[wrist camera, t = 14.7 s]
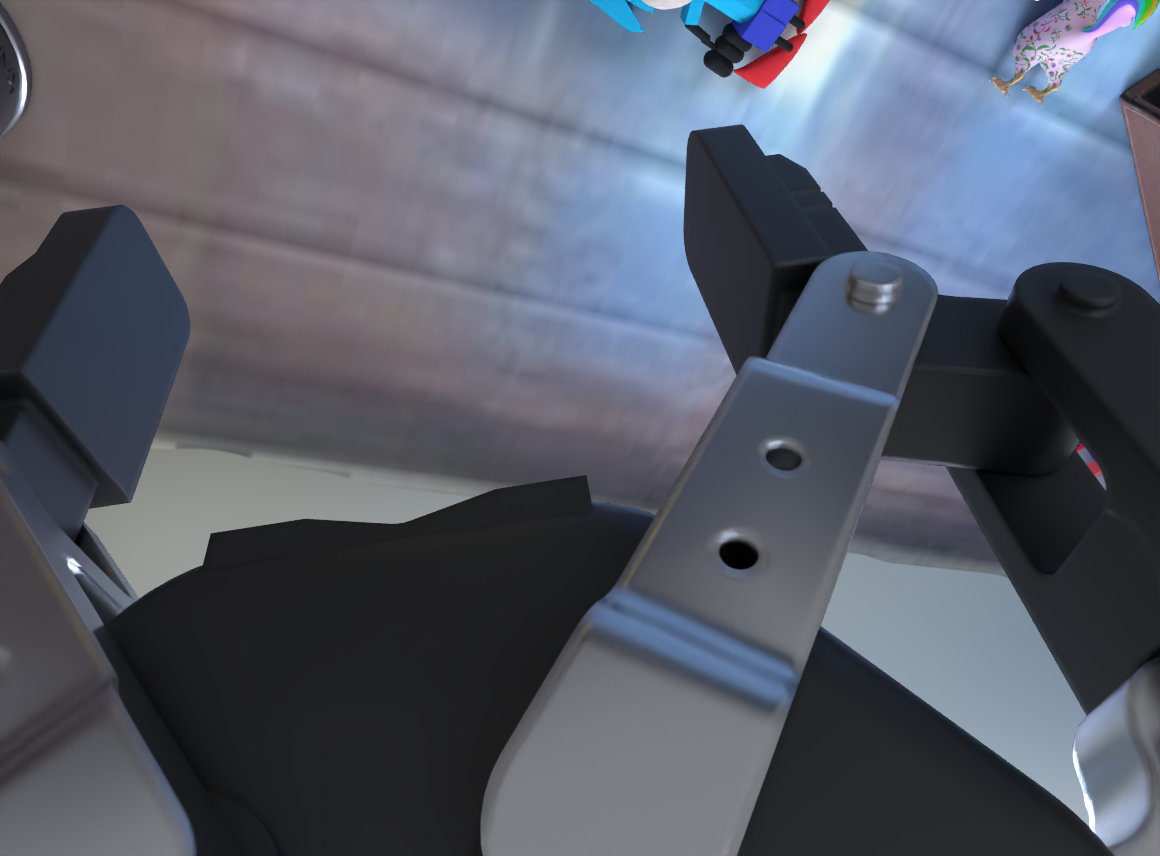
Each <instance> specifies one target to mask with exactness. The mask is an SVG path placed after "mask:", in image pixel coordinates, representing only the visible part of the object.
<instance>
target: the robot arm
mask: <svg viewBox="0 0 1160 856" xmlns="http://www.w3.org/2000/svg"><path fill="white" fill-rule="evenodd" d="M31 89H32V74H31V66H30V62H29V57H28V54H27V51H26V48H25V45H24V43H23V40H22V38H21V36H20V34H19V32H18V30H17V28H16V26H15V24H14V23H13V21H12V19H11V18H10V16H9V14H8V13H7V12H6V10H5V9H4V7H3V6H2V5H1V3H0V137H1V136H3V135H4V134H5V133H6V132H8V131H9V130H10V129H11V128H12V126H13V125H14V124H15V123H16V122H17V121H18V120H19V119H20V117H21V116H22V115H23V113H24V112H25V109H26V107H27V105H28V102H29V99H30V95H31ZM820 189H821V188H820V187H819V185H818V184H817V183H816V181H815V180H814V179H813V177H812V176H811V175H810V173H809V172H808V171H807V169H805V168H804V167H802V166H800V165H798V164H797V163H795V162H793V161H791V160H789V159H788V158H786V157H784V156H782V155H781V154H776V155H769V156H765V155H764V153H763V152H762V150H761V149H760V148H759V146H758V145H757V143H756V142H755V140H754V139H753V137H752V136H751V135H750V133H749V132H748V130H747V129H746V127H745V126H744V125H742V124H741V125H733V126H725V127H718V128H710V129H703V130H695V131H692V132H691V133H690V135H689V138H688V144H687V159H686V183H685V207H684V244H685V252H686V257H687V261H688V265H689V268H690V270H691V272H692V275H693V277H694V279H695V281H696V284H697V286H698V288H699V291H700V293H701V295H702V297H703V300H704V302H705V304H706V307H707V309H708V311H709V313H710V316H711V318H712V320H713V322H714V325H715V327H716V329H717V332H718V334H719V336H720V338H721V341H722V343H723V345H724V348H725V350H726V352H727V354H728V357H729V359H730V361H731V363H732V366H733V368H734V370H735V373H736V375H737V376H736V378H735V380H734V381H733V383H732V385H731V387H730V388H729V390H728V392H727V394H726V395H725V397H724V399H723V400H722V402H721V404H720V406H719V407H718V409H717V411H716V412H715V414H714V416H713V418H712V419H711V421H710V423H709V425H708V426H707V428H706V430H705V431H704V433H703V435H702V437H701V438H700V440H699V442H698V443H697V445H696V447H695V449H694V450H693V452H692V454H691V456H690V457H689V459H688V461H687V462H686V464H685V466H684V468H683V469H682V471H681V473H680V474H679V476H678V478H677V480H676V481H675V483H674V485H673V487H672V488H671V490H670V492H669V493H668V495H667V497H666V499H665V500H664V502H663V504H662V505H661V507H660V509H659V511H658V512H657V514H656V515H655V514H652V513H650V512H646V511H643V510H639V509H636V508H632V507H628V506H622V505H617V504H611V503H601V502H591V497H590V492H589V487H588V482H587V477H586V475H584V476H577V477H571V478H565V479H558V480H552V481H545V482H539V483H532V484H526V485H520V486H513V487H507V488H500V489H495V490H492V491H490V492H487V493H484V494H481V495H479V496H476V497H473V498H471V499H468V500H465V501H463V502H460V503H457V504H454V505H452V506H449V507H446V508H444V509H441V510H438V511H436V512H433V513H430V514H427V515H425V516H422V517H419V518H417V519H414V520H411V521H408V522H405V523H399V524H382V523H366V522H349V521H331V520H314V519H302V520H295V521H288V522H282V523H275V524H269V525H262V526H256V527H250V528H243V529H237V530H231V531H224V532H217V533H211V535H210V539H209V543H208V547H207V551H206V555H205V559H204V563H203V565H202V566H199V567H197V568H194V569H192V570H190V571H188V572H186V573H183V574H181V575H179V576H177V577H175V578H173V579H171V580H169V581H167V582H165V583H164V584H162V585H160V586H159V587H157V588H155V589H153V590H152V591H150V592H148V593H147V594H145V595H144V596H143V597H141V598H140V599H139V598H138V596H137V595H136V593H135V592H134V590H133V589H132V587H131V586H130V584H129V583H128V581H127V580H126V578H125V577H124V575H123V574H122V572H121V571H120V569H119V568H118V567H117V565H116V563H115V562H114V560H113V559H112V557H111V556H110V555H109V553H108V552H107V550H106V549H105V547H104V546H103V544H102V543H101V541H100V540H99V538H98V537H97V535H96V534H95V533H94V532H93V531H92V530H91V529H90V528H89V527H88V526H87V525H86V524H85V523H84V519H85V516H86V514H87V512H88V509H91V508H97V507H104V506H110V505H117V504H123V503H130V502H131V500H132V498H133V495H134V492H135V490H136V486H137V484H138V481H139V478H140V475H141V473H142V470H143V467H144V464H145V461H146V458H147V456H148V453H149V450H150V447H151V444H152V441H153V438H154V436H155V433H156V430H157V427H158V424H159V421H160V419H161V416H162V413H163V410H164V407H165V404H166V402H167V399H168V396H169V393H170V390H171V387H172V385H173V382H174V379H175V376H176V373H177V370H178V368H179V365H180V362H181V359H182V356H183V353H184V351H185V348H186V345H187V342H188V339H189V336H190V319H189V313H188V309H187V306H186V303H185V301H184V298H183V296H182V294H181V292H180V291H179V289H178V287H177V285H176V283H175V282H174V280H173V278H172V276H171V275H170V273H169V271H168V269H167V268H166V266H165V264H164V262H163V260H162V259H161V257H160V255H159V253H158V252H157V250H156V248H155V246H154V244H153V243H152V241H151V239H150V237H149V236H148V234H147V232H146V230H145V229H144V227H143V225H142V223H141V222H140V220H139V218H138V217H137V216H136V215H135V213H134V212H133V211H132V210H131V209H129V208H128V207H126V206H124V205H116V206H108V207H101V208H93V209H86V210H78V211H70V212H65V213H63V214H62V215H61V216H60V217H59V219H58V220H57V222H56V223H55V225H54V226H53V228H52V229H51V231H50V232H49V234H48V235H47V237H46V238H45V240H44V241H43V243H42V244H41V246H40V247H39V249H38V250H37V252H36V253H35V254H34V255H32V256H31V257H30V258H29V259H27V260H26V261H25V262H23V263H22V264H21V265H20V266H18V267H17V268H16V269H14V270H13V271H12V272H11V273H9V274H8V275H7V276H6V277H5V278H4V280H3V281H2V283H1V284H0V856H1160V304H1159V303H1158V302H1157V301H1156V300H1155V299H1154V298H1152V297H1151V296H1150V295H1149V294H1148V293H1147V292H1146V291H1145V290H1144V289H1143V288H1141V287H1140V286H1139V285H1137V284H1136V283H1134V282H1133V281H1131V280H1129V279H1127V278H1125V277H1123V276H1121V275H1119V274H1117V273H1114V272H1112V271H1109V270H1106V269H1103V268H1099V267H1096V266H1091V265H1086V264H1079V263H1069V262H1056V263H1047V264H1041V265H1038V266H1034V267H1032V268H1030V269H1028V270H1026V271H1024V272H1023V273H1022V274H1021V275H1020V276H1019V277H1018V279H1017V280H1016V282H1015V285H1014V287H1013V289H1012V291H1011V294H1010V296H1009V298H1008V300H1000V299H985V298H970V297H955V296H945V295H939V294H938V289H937V286H936V283H935V281H934V280H933V278H932V277H931V276H930V275H929V274H928V273H927V272H926V271H925V270H924V269H922V268H921V267H919V266H918V265H916V264H914V263H912V262H910V261H908V260H906V259H903V258H901V257H898V256H894V255H890V254H886V253H880V252H870V251H868V250H867V249H866V247H865V246H864V245H863V243H862V242H861V241H860V239H859V238H858V237H857V235H856V234H855V233H854V231H853V230H852V229H851V227H850V226H849V225H848V223H847V222H846V221H845V220H844V218H843V217H842V216H841V214H840V213H839V212H838V210H837V209H836V208H833V207H832V202H831V201H830V200H829V198H828V197H827V196H826V194H825V193H824V192H821V191H820ZM1080 441H1081V443H1082V444H1083V445H1084V447H1085V448H1086V449H1087V451H1088V452H1089V453H1090V455H1091V456H1092V457H1093V459H1094V460H1095V461H1096V463H1097V464H1098V466H1099V467H1100V469H1101V472H1102V474H1103V477H1104V480H1105V485H1106V490H1105V489H1104V487H1103V486H1102V485H1101V483H1100V482H1099V481H1098V479H1097V478H1096V477H1095V475H1094V474H1093V473H1092V471H1091V470H1090V469H1089V467H1088V466H1087V464H1086V463H1085V462H1084V460H1083V459H1082V458H1081V456H1080V455H1079V454H1078V452H1077V451H1076V450H1075V448H1076V446H1077V445H1078V443H1079V442H1080ZM880 459H881V460H890V461H900V462H909V463H919V464H928V465H938V466H946V468H947V470H948V471H949V473H950V475H951V477H952V478H953V480H954V482H955V484H956V486H957V487H958V489H959V491H960V493H961V494H962V496H963V498H964V500H965V501H966V503H967V505H968V507H969V509H970V510H971V512H972V514H973V516H974V517H975V519H976V521H977V523H978V524H979V526H980V528H981V530H982V532H983V533H984V535H985V537H986V539H987V540H988V542H989V544H990V546H991V547H992V549H993V551H994V553H995V555H996V556H997V558H998V560H999V562H1000V563H1001V565H1002V567H1003V569H1004V570H1005V572H1006V574H1007V576H1008V578H1009V579H1010V581H1011V583H1012V585H1013V586H1014V588H1015V590H1016V592H1017V594H1018V595H1019V597H1020V599H1021V601H1022V602H1023V604H1024V606H1025V608H1026V609H1027V611H1028V613H1029V615H1030V616H1031V618H1032V620H1033V622H1034V624H1035V625H1036V627H1037V629H1038V631H1039V632H1040V634H1041V636H1042V638H1043V640H1044V641H1045V643H1046V644H1047V647H1048V648H1049V650H1050V652H1051V653H1052V655H1053V657H1054V659H1055V661H1056V663H1057V664H1058V666H1059V668H1060V670H1061V671H1062V673H1063V675H1064V677H1065V678H1066V680H1067V682H1068V684H1069V685H1070V687H1071V689H1072V691H1073V692H1074V694H1075V696H1076V698H1077V700H1078V701H1079V703H1080V705H1081V707H1082V709H1083V710H1084V712H1085V714H1086V717H1085V719H1084V720H1083V721H1082V722H1081V724H1080V725H1079V727H1078V729H1077V731H1076V734H1075V737H1074V742H1073V760H1074V765H1075V770H1076V773H1077V776H1078V778H1079V781H1080V784H1081V786H1082V789H1083V792H1084V794H1085V795H1084V798H1085V805H1086V808H1087V811H1088V813H1089V815H1090V827H1089V826H1087V824H1086V823H1084V822H1083V821H1082V820H1081V819H1080V818H1079V817H1078V816H1077V815H1076V814H1075V813H1074V812H1073V811H1072V810H1070V809H1069V808H1068V807H1067V806H1066V805H1065V804H1063V803H1062V802H1061V801H1060V800H1059V799H1057V798H1056V797H1055V796H1053V795H1052V794H1051V793H1049V792H1048V791H1047V790H1046V789H1044V788H1043V787H1041V786H1040V785H1039V784H1038V783H1036V782H1035V781H1033V780H1032V779H1031V778H1029V777H1028V776H1026V775H1025V774H1024V773H1022V772H1021V771H1020V770H1018V769H1017V768H1016V767H1014V766H1013V765H1011V764H1010V763H1009V762H1007V761H1006V760H1004V759H1003V758H1002V757H1000V756H999V755H998V754H996V753H995V752H994V751H992V750H991V749H989V748H988V747H987V746H985V745H984V744H982V743H981V742H980V741H978V740H977V739H976V738H974V737H973V736H971V735H970V734H969V733H967V732H966V731H965V730H963V729H962V728H960V727H959V726H957V725H956V724H955V723H954V722H952V721H951V720H949V719H948V718H947V717H945V716H944V715H943V714H941V713H940V712H938V711H937V710H936V709H934V708H933V707H932V706H930V705H929V704H927V703H926V702H925V701H923V700H922V699H921V698H919V697H918V696H916V695H915V694H914V693H912V692H911V691H909V690H908V689H907V688H905V687H904V686H902V685H901V684H900V683H898V682H897V681H896V680H894V679H893V678H892V677H890V676H889V675H887V674H886V673H885V672H883V671H882V670H881V669H879V668H878V667H876V666H875V665H874V664H872V663H871V662H869V661H868V660H867V659H865V658H864V657H863V656H861V655H860V654H858V653H857V652H856V651H854V650H853V649H852V648H850V647H849V646H847V645H846V644H845V643H843V642H842V641H841V640H839V639H838V638H836V637H835V636H834V635H832V634H831V633H829V632H828V631H827V630H825V629H824V628H823V627H821V623H822V621H823V618H824V615H825V612H826V609H827V607H828V604H829V601H830V598H831V595H832V593H833V590H834V587H835V584H836V582H837V579H838V576H839V573H840V570H841V568H842V565H843V562H844V559H845V556H846V554H847V551H848V548H849V545H850V542H851V540H852V537H853V534H854V531H855V529H856V526H857V523H858V520H859V517H860V515H861V512H862V509H863V506H864V503H865V501H866V498H867V495H868V492H869V490H870V487H871V484H872V481H873V478H874V476H875V473H876V470H877V467H878V464H879V462H880Z"/></svg>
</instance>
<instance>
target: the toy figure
mask: <svg viewBox="0 0 1160 856" xmlns="http://www.w3.org/2000/svg"><path fill="white" fill-rule="evenodd" d="M590 1H591V2H592V3H594V4H595V5H596V6H597V7H599V8H600V9H601V10H602V11H604V12H605V13H606V14H607V15H609V16H610V17H611V18H612V19H614V20H615V21H616V22H617V23H619V24H620V25H621V26H623V27H624V28H625V29H626V30H628V31H629V32H644V31H643V30H642V28H641V26H640V24H639V23H638V21H637V19H636V17H635V16H634V14H633V12H632V11H631V9H630V7H629V5H628V4H627V2H626V0H590ZM627 1H629V2H630V3H632V4H634V5H636V6H637V7H639V8H641V9H643V10H646V11H649V12H652V13H655V11H654V8H658V9H662V10H664V9H673V8H678V7H681V6H683V9H682V13H681V17H680V18H681V19H682V21H683V22H684V24H685V27H686V28H687V29H688V30H690V31H691V32H692V33H693V34H694V35H696V36H697V37H698V38H699V39H700V40H701V42H702V43H704V44H705V45H707V46H708V47H710V48H711V49H712V50H710V51H708V52H707V53H706V54H705V56H704V64H705V66H706V67H707V68H709V69H710V70H712V71H713V72H715V73H716V74H718V75H719V76H721V77H728V76H730V75H731V73H732V71H734V72H735V73H736V74H738V75H740V76H741V77H742V78H744V79H746V80H747V81H749V82H751V83H752V84H754V85H756V86H758V87H760V88H766V87H767V86H768V85H769V84H770V83H771V82H772V81H773V80H774V79H775V78H776V77H777V76H778V75H779V74H780V73H781V72H782V70H783V69H784V68H785V67H786V66H787V65H788V64H789V62H790V61H791V60H792V59H793V57H794V56H795V55H796V53H797V52H798V50H799V49H800V47H801V45H802V44H803V42H804V41H805V39H806V37H807V34H805V33H803V34H800V33H802V32H803V31H804V30H805V29H806V28H807V27H808V26H809V25H810V24H811V23H812V22H813V21H814V20H815V19H816V18H817V16H818V15H819V14H820V13H821V12H822V10H823V9H824V8H825V6H826V5H827V4H828V2H829V1H830V0H805V1H804V4H803V7H802V10H801V13H800V15H799V18H798V17H797V16H795V13H796V12H797V11H798V9H799V8H800V7H799V6H798V5H797V4H796V3H795V1H794V0H627ZM704 2H707V3H709V4H710V5H712V6H713V7H715V8H716V9H718V10H720V11H721V12H723V13H724V14H726V15H727V16H729V17H731V18H732V19H733V21H732V22H731V23H730V24H728V25H726V26H725V27H724V29H723V32H722V34H723V35H722V36H720V37H718V38H717V40H716V41H715V44H714V43H713V42H711V41H710V39H711V37H710V35H708V34H707V33H706V32H705V31H704V30H703V29H702V28H700V27H699V26H698V22H699V19H700V15H701V12H702V9H703V5H704ZM653 7H654V8H653ZM788 23H790V24H792V25H793V26H795V27H796V28H797V35H796V36H794V37H792V38H790V39H788V40H785V39H783V38H782V37H780V34H781V33H782V32H783V30H784V29H785V28H786V25H787V24H788ZM774 43H775V44H777V45H778V46H777V47H775V48H774V49H772V50H771V51H769V52H768V50H769V49H770V48H771V46H772V45H773V44H774ZM752 44H753V45H754V46H756V47H758V48H759V49H761V50H762V51H764V52H766V54H764V55H763V56H761V57H759V58H758V59H756V60H754V61H752V62H751V63H749V64H747V65H745V66H744V67H741V68H739V69H735V70H733V67H734V66H733V63H738V62H740V61H741V60H742V59H743V57H744V52H746V51H748V50H749V49H750V48H751V47H752Z"/></svg>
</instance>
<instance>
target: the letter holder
mask: <svg viewBox="0 0 1160 856" xmlns="http://www.w3.org/2000/svg"><path fill="white" fill-rule="evenodd" d="M1119 100H1120V103H1121V108H1122V112H1123V116H1124V120H1125V124H1126V128H1127V132H1128V136H1129V141H1130V145H1131V150H1132V154H1133V159H1134V165H1135V169H1136V174H1137V179H1138V184H1139V190H1140V194H1141V200H1142V204H1143V209H1144V213H1145V218H1146V223H1147V228H1148V232H1149V237H1150V241H1151V246H1152V251H1153V255H1154V260H1155V264H1156V269H1157V274H1158V278H1159V283H1160V69H1159V70H1157V71H1156V72H1154V73H1153V74H1151V75H1150V76H1148V77H1147V78H1145V79H1144V80H1142V81H1141V82H1139V83H1138V84H1136V85H1135V86H1133V87H1132V88H1130V89H1128V90H1127V91H1125V92H1124V93H1123V94H1122V95H1121V96H1120V99H1119Z"/></svg>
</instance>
